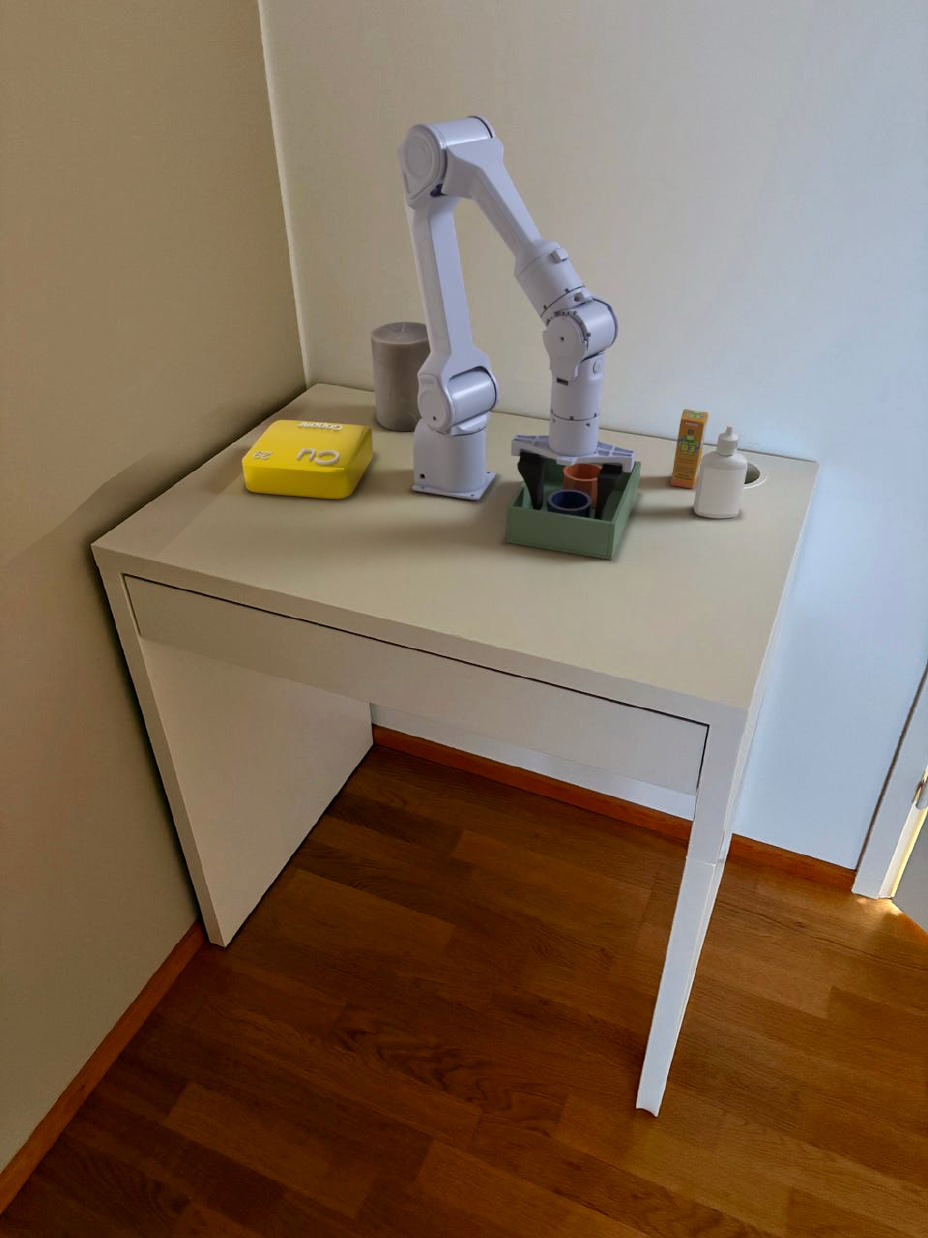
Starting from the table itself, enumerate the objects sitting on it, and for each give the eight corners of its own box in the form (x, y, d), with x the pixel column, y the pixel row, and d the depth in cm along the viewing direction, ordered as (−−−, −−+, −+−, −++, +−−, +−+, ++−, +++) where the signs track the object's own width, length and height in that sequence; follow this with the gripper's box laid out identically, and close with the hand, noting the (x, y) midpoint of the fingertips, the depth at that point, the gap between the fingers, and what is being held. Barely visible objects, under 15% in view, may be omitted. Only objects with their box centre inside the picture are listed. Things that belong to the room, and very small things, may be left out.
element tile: (376, 452, 133) (374, 421, 131) (348, 501, 121) (345, 468, 119) (278, 445, 136) (274, 414, 133) (241, 492, 124) (235, 460, 121)
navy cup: (540, 536, 113) (542, 506, 110) (551, 515, 117) (553, 486, 114) (583, 543, 111) (586, 513, 109) (593, 522, 116) (596, 492, 113)
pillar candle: (448, 412, 145) (446, 317, 136) (420, 436, 138) (417, 337, 129) (393, 402, 148) (388, 309, 139) (364, 425, 141) (357, 328, 132)
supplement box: (669, 486, 124) (678, 417, 118) (674, 475, 127) (684, 407, 121) (693, 490, 123) (704, 421, 117) (698, 479, 126) (709, 410, 120)
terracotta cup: (557, 506, 119) (558, 477, 117) (567, 487, 123) (568, 459, 121) (597, 512, 118) (600, 483, 115) (606, 493, 122) (609, 465, 119)
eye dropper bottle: (729, 525, 116) (746, 437, 109) (688, 513, 118) (701, 426, 111) (742, 511, 119) (759, 425, 111) (701, 499, 121) (715, 414, 114)
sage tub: (505, 542, 113) (506, 507, 110) (542, 480, 126) (543, 447, 123) (611, 560, 109) (615, 524, 106) (637, 494, 122) (641, 461, 120)
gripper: (504, 415, 104) (502, 520, 112) (631, 432, 100) (619, 539, 108) (521, 392, 109) (518, 494, 117) (642, 408, 105) (631, 511, 113)
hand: (568, 514), depth 113 cm, fingers open, 7 cm apart
